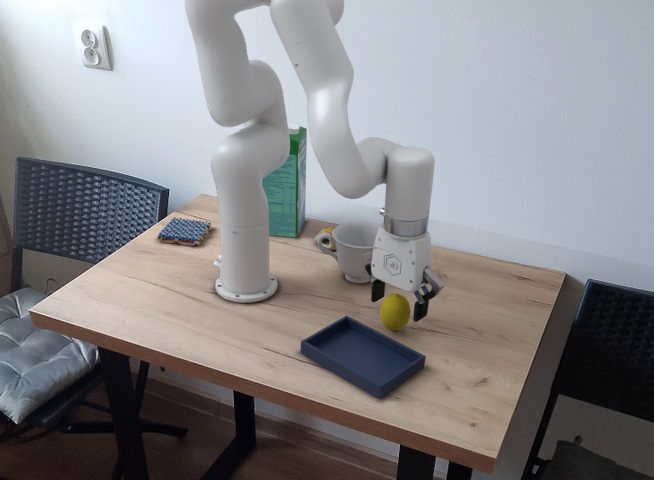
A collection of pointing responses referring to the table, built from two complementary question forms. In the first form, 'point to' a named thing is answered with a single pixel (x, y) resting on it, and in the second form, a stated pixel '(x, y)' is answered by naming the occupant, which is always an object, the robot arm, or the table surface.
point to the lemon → (395, 312)
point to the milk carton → (288, 187)
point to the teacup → (351, 248)
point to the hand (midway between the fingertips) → (398, 308)
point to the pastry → (326, 241)
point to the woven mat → (184, 231)
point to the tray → (363, 356)
